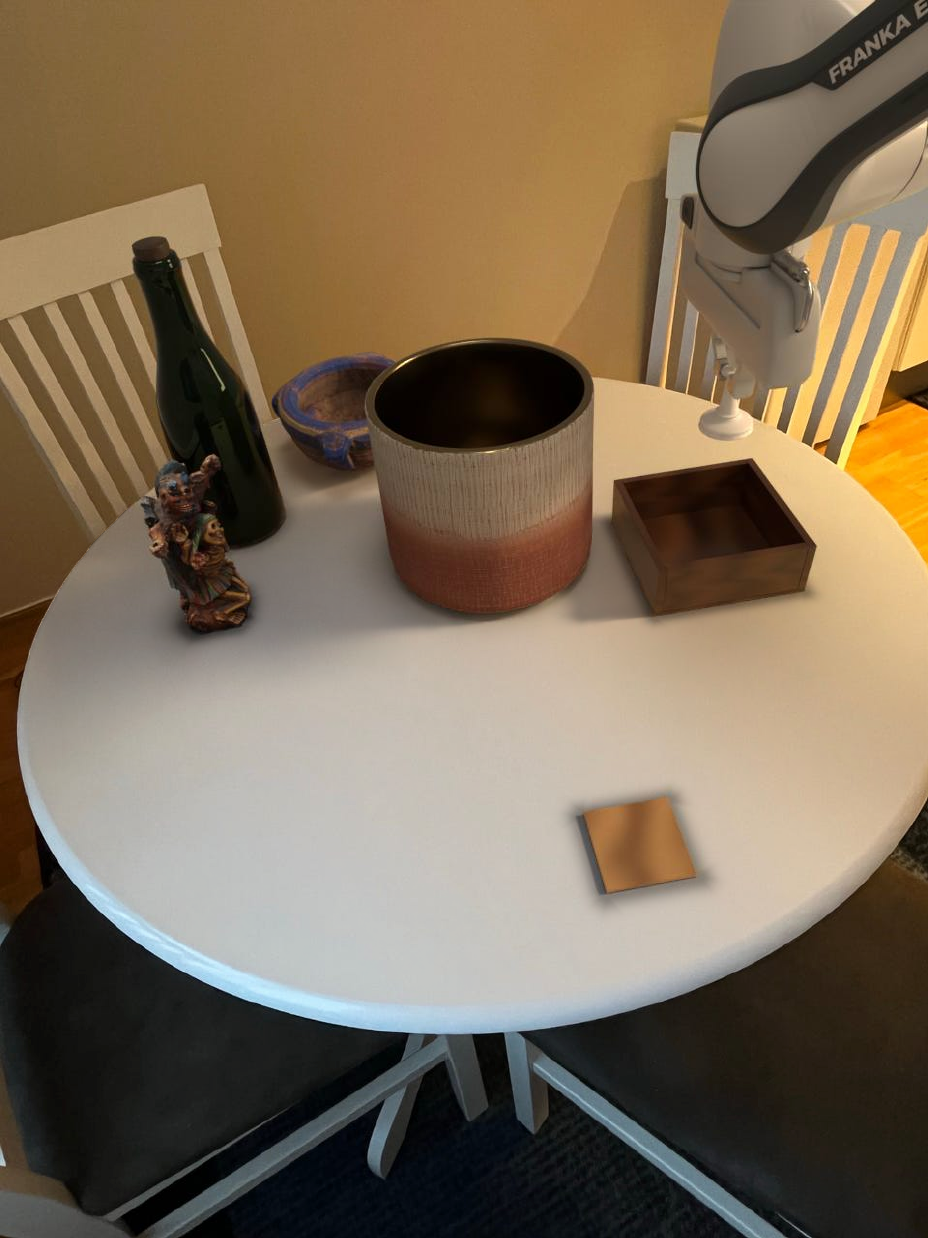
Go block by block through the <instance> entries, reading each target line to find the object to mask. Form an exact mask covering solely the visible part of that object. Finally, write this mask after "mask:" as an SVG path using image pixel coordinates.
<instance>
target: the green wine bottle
mask: <svg viewBox="0 0 928 1238" xmlns="http://www.w3.org/2000/svg"><path fill="white" fill-rule="evenodd" d="M131 251H132V253H133V255H134V256H133V257H132V260H131V263H132V271H133V274H134V276H135V278H136V279H137V281H138V284H139V287H140V289H141V293H142V295H143V299H144V302H145V304H146V308H147V311H148V315H149V318H150V321H151V327H152V330H153V335H154V340H155V341H154V342H155V350H156V373H155V403H156V410H157V417H158V420H159V424H160V426H161V429H162V433H163V436H164V439H165V442H166V445H167V448H168V451H169V454H170V456H171V460H172V459H174V460H175V461H177V462H178V463H181V464H182V463H184V465H186V469H187V475H188V477H189V476H190V475H191V474H192V473H195V472H198V471H201V469H200V468H201V466H202V463H203V462H204V461H205V459H206V457H208V456H210V455H213V454H214V455H215V456H217V457H218V458H219V460H220V461H221V469H220V471H219V470H217V472H216V473H215V474H214V475H213V476H211V477H209V485H210V488H209V489H208V488H207V489H206V490H205V492H204V498H203V501H204V500H205V501H209V502H213V503H214V504H216V506H217V507H216V508H217V509H216V513H215V515H216V518H217V519H218V523H220V527H223V529H224V537H225V539H226V542H227V544H228V547H242V546H245V545H250V544H253V543H255V542H258V541H261V540H263V539H265V538H267V537H268V536H270V535H271V534H273V533H274V532H275V531H276V530H277V529H278V528H279V526H280V525H281V524H282V523H283V520H284V517H285V514H286V508H285V504H284V498H283V495H282V491H281V489H280V485H279V482H278V479H277V475H276V472H275V469H274V465H273V462H272V459H271V456H270V452H269V449H268V446H267V443H266V441H265V436H264V433H263V430H262V427H261V424H260V421H259V418H258V414H257V412H256V410H255V407H254V404H253V402H252V398H251V396H250V393H249V391H248V389H247V387H246V386H245V384H244V382H243V380H242V378H241V377H240V375H239V373H238V372H237V371H236V369H234V367H233V366H232V365H231V363H230V362H229V361H228V359H227V358H226V357H225V355H224V354H223V353H222V352H221V350H220V349H219V347H218V346H217V345H216V343H215V342H214V341H213V339H212V337H210V335H209V333H208V331H207V330H206V328H205V326H204V324H203V322H202V320H201V317H200V316H199V314H198V311H197V309H196V306H195V304H194V300H193V297H192V295H191V293H190V289H189V287H188V283H187V281H186V277H185V275H184V271H183V265H182V261H181V258H180V256H179V255H178V254H177V251H176V250H175V249H173V248H171V246H170V243H169V241H168V239H167V237H165V236H161V235H153V236H147V237H143V238H140V239H138V240H136V241H135V242H133V243H132V244H131ZM203 501H202V502H203Z"/></svg>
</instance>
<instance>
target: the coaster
mask: <svg viewBox="0 0 928 1238" xmlns="http://www.w3.org/2000/svg"><path fill="white" fill-rule="evenodd" d="M582 815H583V819H584V822H585V825H586V829H587V832H588V835H589V839H590V842H591V845H592V849H593V853H594V856H595V859H596V862H597V866H598V868H599V872H600V875H601V879H602V882H603V886H604V889H605V893H606V894H610V893H614V892H615V893H617V892H621V891H626V890H631V889H637V888H642V887H647V886H652V885H658V884H663V883H670V882H675V881H680V880H687V879H691V878H697V876H698V873H697V870H696V869H695V866H694V863H693V860H692V858H691V855H690V852H689V850H688V846H687V845H686V842H685V840H684V839H685V838H684V836H683V834H682V832H681V829H680V827H679V824H678V822H677V819H676V817H675V814H674V811H673V808H672V807H671V803H670V801H669V798H668V797H667V796H665V797H659V798H654V799H648V800H641V801H638V802H637V801H636V802H630V803H627V804H621V805H615V806H608V807H604V808H599V809H592V810H588V811H587V810H586V811H583V812H582Z"/></svg>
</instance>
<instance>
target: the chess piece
mask: <svg viewBox="0 0 928 1238" xmlns="http://www.w3.org/2000/svg"><path fill="white" fill-rule="evenodd" d="M725 350H726V354H727V360H728V365H725V366H724V367H723V368H722V370H721V373H722V375H724V376H725V377H727V380H725V385H724V388H723V392H722V395H721V398H720V402H719V404H718V406H716V407H712V408H709V409H707V410H706V411H704V412H703V413H702V414H701V415H700V417H699V421H698V424H697V428H698V431H699V432H700V433H701V434H702V435H704V436H706V437H707V438H710V439H713V440H715V441H723V442H732V441H738V440H743V439H744V438H747V437H748V436H750V435H751V434H752V432H753V431H754V419H753V417H752V415H751V414H750V413H749V412H747V411H746V410H743V409H741V408H740V407H739V402H738V400H739V399H738V400H736V399H734V398H733V397H732V395H731V394H730V393H729V391H728V390H727V386H728V378H729V374H734V373H735V371H736V368H737V366H738V364H736V362H735V359H736V355H735V354H734V353H733V352H732V350H731V349H730V348H729V347H728V346H727V345H725Z"/></svg>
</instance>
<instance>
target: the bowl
mask: <svg viewBox="0 0 928 1238" xmlns="http://www.w3.org/2000/svg"><path fill="white" fill-rule="evenodd" d="M397 361H398V360H395V359H392V358H388V357H385V355H384V354H382V353H378V352H375V351H366V352H365V351H364V352H359V353H356V354H349V355H342V356H337V357H332V358H329V359H325V360H322V361H319V362H316V363H315V364H312V365H311V366H309V367H306V368H304V369H303V370H302V371H300V372H299V373H297V374H296V375H295V376H294V377H292V378H291V379H290V380H289V381H287V382H286V383H284V384H283V385H281V387H279V388H278V389H277V390H276V392H275V393H274V395H273V397H272V399H271V407H272V410H273V412H274V414H275V415H276V416H277V417H278V418H279V420H280V423H281V425H282V427H283V428H284V430H285V431H286V433H287V434H288V435H289V437H290V439H291V441H292V442H293V443H294V445H295V446H296V447H297V448H298V450H299V451H300V452H301V453H302V454H303V455H305V456H306V458H308V459H310V460H312V461H313V462H315V463H317V464H318V465H321V466H323V467H325V468H329V469H333V470H337V471H343V472H356V471H360V470H364V469H367V468H368V469H369V468H372V467H375V463H374V458H373V452H372V446H371V441H370V435H369V430H368V424H367V419H366V413H365V398H366V394H367V392H368V390H369V388H370V386H371V384H372V383H373V382H374V380H375V379H376V378H377V377H378V376H379V375H380V374H381V373H382V372H383V371H384V370H386V369H387V368H388V367H390V366H391V365H393V364H394V363H396V362H397Z"/></svg>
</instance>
